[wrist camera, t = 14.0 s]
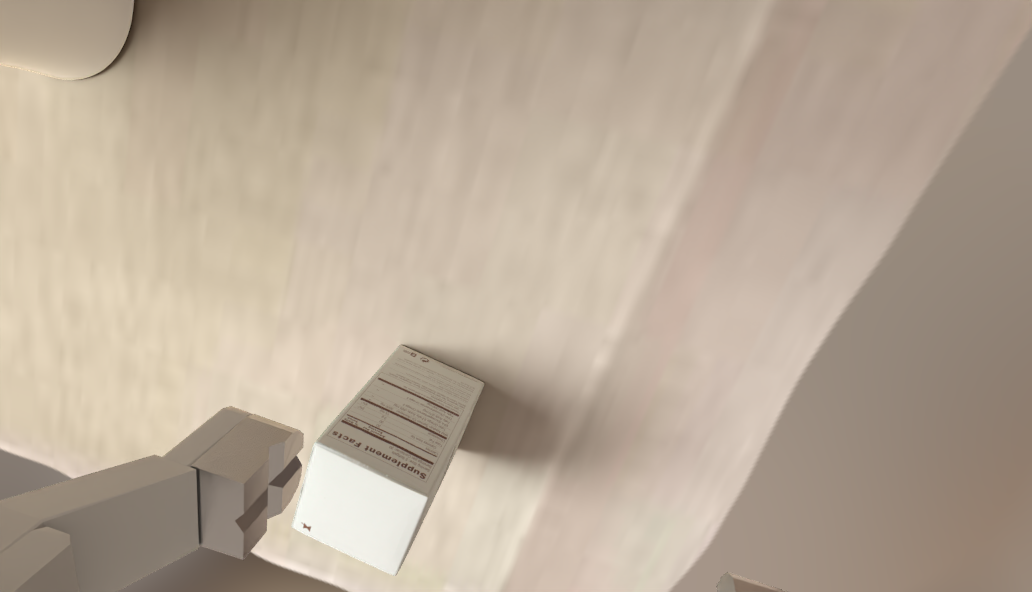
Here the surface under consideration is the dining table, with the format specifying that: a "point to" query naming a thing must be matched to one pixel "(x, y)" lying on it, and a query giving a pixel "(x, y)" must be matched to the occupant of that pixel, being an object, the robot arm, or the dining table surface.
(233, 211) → the dining table surface
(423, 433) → the supplement box
